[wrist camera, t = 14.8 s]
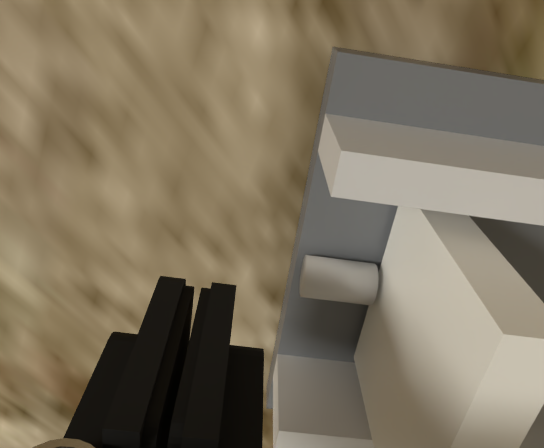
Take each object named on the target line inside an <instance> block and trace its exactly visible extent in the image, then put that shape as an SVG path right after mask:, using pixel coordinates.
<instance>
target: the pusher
mask: <svg viewBox="0 0 544 448" xmlns="http://www.w3.org/2000/svg"><path fill="white" fill-rule="evenodd" d="M378 277H379V280H378V290H377V295H376V298H375V301H374V303H373V304H372V305H369V307H368V310H367V313H366V317H365V320H364V324H363V327H362V330H361V334H360V337H359V341H358V344H357V347H356V351H355V354H354V361H355V365H356V370H357V374H358V379H359V383H360V387H361V392H362V396H363V401H364V405H365V410H366V414H367V419H368V423H369V428H370V432H371V437H372V441H373V446H374V448H519V447H520V445H521V444H522V442H523V440H524V438H525V436H526V435H527V433H528V431H529V429H530V428H531V426H532V424H533V422H534V420H535V419H536V417H537V415H538V413H539V412H540V410H541V408H542V406H543V404H544V303H543V302H542V300H541V299H540V298H539V297H538V296H537V295H536V294H535V292H534V291H533V290H532V289H531V288H530V287H529V285H528V284H527V283H526V282H525V281H524V280H523V278H522V277H521V276H520V275H519V274H518V273H517V271H516V270H515V269H514V268H513V267H512V266H511V264H510V263H509V262H508V261H507V260H506V259H505V257H504V256H503V255H502V254H501V253H500V252H499V250H498V249H497V248H496V247H495V246H494V245H493V243H492V242H491V241H490V240H489V239H488V238H487V236H486V235H485V234H484V233H483V232H482V231H481V229H480V228H479V227H478V226H477V225H476V224H475V222H474V221H473V220H472V219H471V218H470V217H469V216H468V215H461V214H454V213H446V212H439V211H432V210H424V209H417V208H410V207H402V206H398V208H397V212H396V215H395V218H394V222H393V225H392V229H391V232H390V235H389V239H388V242H387V246H386V249H385V252H384V256H383V259H382V263H381V266H380V269H379V273H378Z"/></svg>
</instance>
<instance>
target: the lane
mask: <svg viewBox="0 0 544 448" xmlns="http://www.w3.org/2000/svg"><path fill="white" fill-rule="evenodd" d="M398 206H402V207H410V208H417V209H424V210H432V211H439V212H446V213H454V214H461V215H468V216H469V217H470V218H471V219H472V220H473V221H474V222H475V224H476V225H477V226H478V227H479V228H480V229H481V231H482V232H483V233H484V234H485V235H486V236H487V238H488V239H489V240H490V241H491V242H492V243H493V245H494V246H495V247H496V248H497V249H498V250H499V252H500V253H501V254H502V255H503V256H504V257H505V259H506V260H507V261H508V262H509V263H510V264H511V266H512V267H513V268H514V269H515V270H516V271H517V273H518V274H519V275H520V276H521V277H522V278H523V280H524V281H525V282H526V283H527V284H528V285H529V287H530V288H531V289H532V290H533V291H534V292H535V294H536V295H537V296H538V297H539V298H540V299H541V300H542V302H543V303H544V80H539V79H533V78H527V77H520V76H514V75H508V74H502V73H495V72H489V71H483V70H476V69H470V68H464V67H457V66H451V65H445V64H439V63H432V62H426V61H420V60H413V59H407V58H401V57H394V56H388V55H382V54H375V53H369V52H363V51H357V50H350V49H344V48H338V47H333V48H332V54H331V59H330V64H329V69H328V74H327V79H326V84H325V90H324V95H323V100H322V105H321V110H320V115H319V120H318V126H317V131H316V136H315V141H314V146H313V151H312V156H311V162H310V167H309V172H308V177H307V182H306V187H305V192H304V198H303V203H302V208H301V213H300V218H299V223H298V229H297V234H296V239H295V244H294V249H293V254H292V259H291V265H290V270H289V275H288V280H287V285H286V290H285V295H284V301H283V306H282V311H281V316H280V321H279V326H278V331H277V337H276V342H275V347H274V352H273V357H272V362H271V367H270V373H269V378H268V383H267V408H270V409H273V448H374V446H373V441H372V437H371V432H370V428H369V423H368V419H367V414H366V410H365V405H364V401H363V396H362V392H361V387H360V383H359V379H358V374H357V370H356V365H355V361H354V354H355V351H356V347H357V344H358V341H359V337H360V334H361V330H362V327H363V324H364V320H365V317H366V313H367V310H368V307H369V305H372V304H373V303H374V301H375V298H376V295H377V290H378V280H379V277H378V273H379V269H380V266H381V263H382V259H383V256H384V252H385V249H386V246H387V242H388V239H389V235H390V232H391V229H392V225H393V222H394V218H395V215H396V212H397V208H398ZM519 448H544V404H543V406H542V408H541V410H540V412H539V413H538V415H537V417H536V419H535V420H534V422H533V424H532V426H531V428H530V429H529V431H528V433H527V435H526V436H525V438H524V440H523V442H522V444H521V445H520V447H519Z"/></svg>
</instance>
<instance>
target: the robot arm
mask: <svg viewBox="0 0 544 448" xmlns="http://www.w3.org/2000/svg"><path fill="white" fill-rule="evenodd" d="M235 293H236V285H229V284H221V283H213V282H212V286H211V289H208V288H201V292H200V297H199V301H198V305H197V310H196V314H195V319H194V323H193V328H192V332H191V336H190V328H191V318H192V307H193V296H194V287H192V286H186V280H185V279H181V278H173V277H165V276H160V278H159V280H158V283H157V285H156V288H155V290H154V293H153V296H152V298H151V301H150V304H149V306H148V309H147V312H146V314H145V317H144V320H143V322H142V325H141V327H140V330H139V333H138V334H129V333H121V332H113V333H112V334H111V336H110V337H109V339H108V341H107V344H106V346H105V348H104V350H103V352H102V355H101V357H100V359H99V361H98V363H97V366H96V368H95V370H94V372H93V374H92V377H91V379H90V381H89V383H88V385H87V388H86V390H85V392H84V394H83V396H82V399H81V401H80V403H79V405H78V407H77V409H76V412H75V414H74V416H73V418H72V420H71V423H70V425H69V427H68V429H67V431H66V434H65V436H64V438H63V439H56V440H50V441H47V442H45V443H42V444H40V445H37V446H35V447H33V448H262V429H263V371H264V351H263V349H260V348H251V347H242V346H234V345H230V337H231V328H232V319H233V310H234V301H235ZM189 339H190V341H189Z"/></svg>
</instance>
